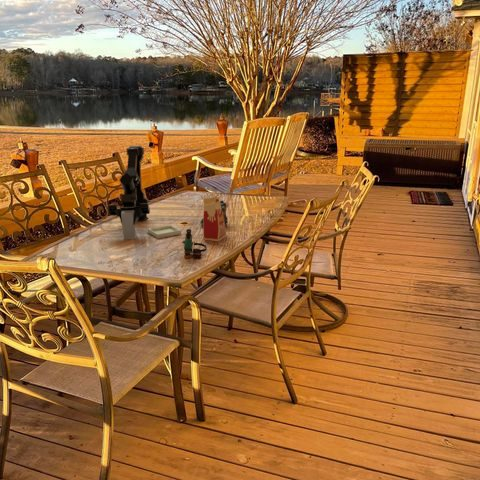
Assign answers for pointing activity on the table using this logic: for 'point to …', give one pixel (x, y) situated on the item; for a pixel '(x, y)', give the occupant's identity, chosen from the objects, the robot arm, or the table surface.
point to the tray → (164, 231)
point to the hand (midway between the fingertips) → (128, 224)
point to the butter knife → (171, 254)
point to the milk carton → (213, 220)
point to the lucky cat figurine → (223, 206)
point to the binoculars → (189, 244)
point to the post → (128, 224)
